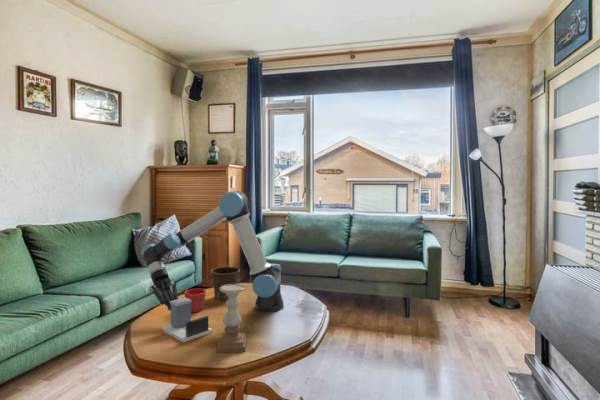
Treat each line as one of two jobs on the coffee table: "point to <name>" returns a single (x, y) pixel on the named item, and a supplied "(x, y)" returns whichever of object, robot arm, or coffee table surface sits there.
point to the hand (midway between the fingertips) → (175, 315)
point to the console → (189, 329)
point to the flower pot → (196, 299)
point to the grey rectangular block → (180, 312)
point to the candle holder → (232, 322)
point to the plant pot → (224, 280)
